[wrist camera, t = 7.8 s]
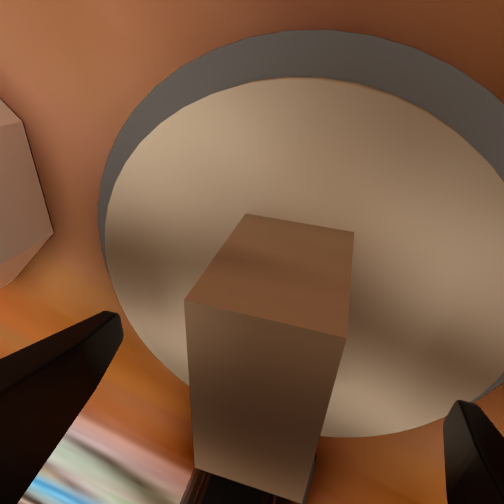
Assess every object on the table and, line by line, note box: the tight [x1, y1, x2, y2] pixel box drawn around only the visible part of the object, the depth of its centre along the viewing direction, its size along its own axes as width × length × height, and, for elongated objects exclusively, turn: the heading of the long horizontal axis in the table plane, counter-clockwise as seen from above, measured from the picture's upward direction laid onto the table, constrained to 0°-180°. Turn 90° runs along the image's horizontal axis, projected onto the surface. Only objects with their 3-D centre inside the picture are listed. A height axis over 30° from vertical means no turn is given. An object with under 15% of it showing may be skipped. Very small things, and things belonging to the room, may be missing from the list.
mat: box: [98, 30, 504, 403], centre depth 12 cm, size 15×15×1 cm
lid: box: [105, 76, 504, 504], centre depth 10 cm, size 13×13×5 cm
